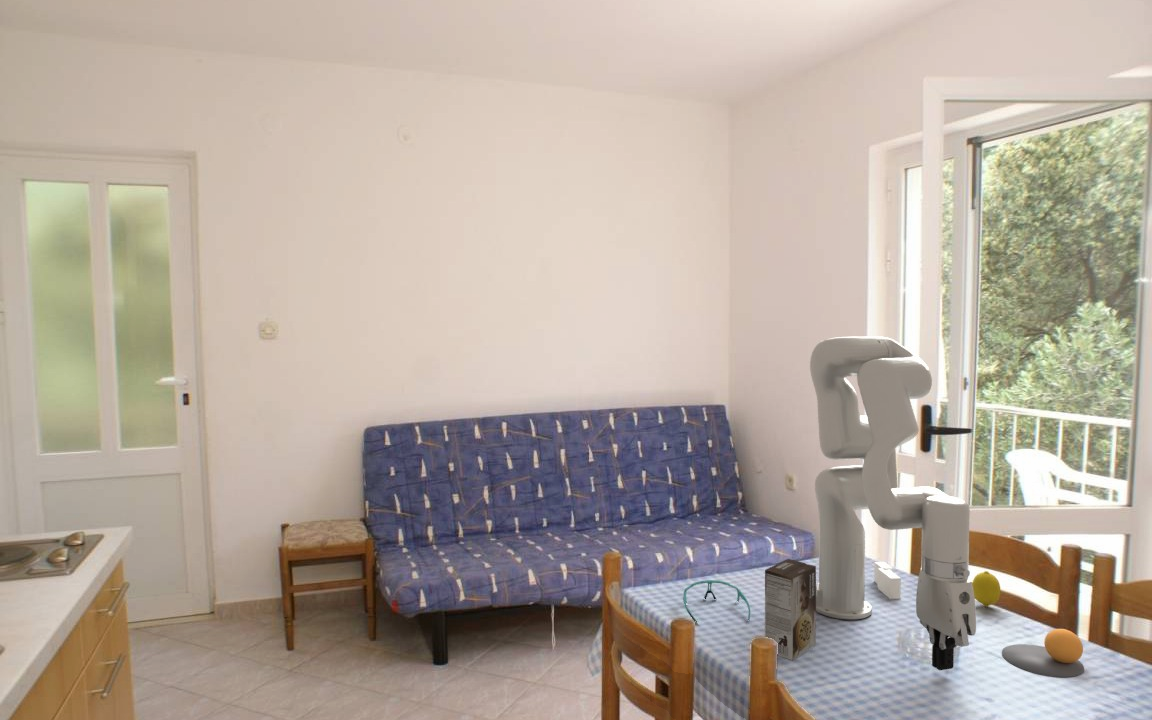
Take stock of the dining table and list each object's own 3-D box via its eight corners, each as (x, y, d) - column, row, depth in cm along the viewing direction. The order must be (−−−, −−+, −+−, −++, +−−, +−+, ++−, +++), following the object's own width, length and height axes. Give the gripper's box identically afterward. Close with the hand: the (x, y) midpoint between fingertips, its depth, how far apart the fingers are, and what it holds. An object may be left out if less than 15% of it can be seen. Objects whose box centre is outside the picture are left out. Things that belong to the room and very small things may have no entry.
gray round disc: (1008, 670, 135) (1009, 669, 135) (996, 641, 147) (996, 640, 147) (1093, 682, 130) (1093, 681, 130) (1073, 651, 142) (1073, 650, 142)
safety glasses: (739, 599, 171) (739, 579, 170) (756, 633, 156) (757, 611, 155) (678, 600, 170) (678, 580, 170) (690, 634, 156) (690, 612, 155)
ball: (1083, 625, 138) (1090, 656, 138) (1046, 621, 142) (1053, 651, 142) (1074, 640, 134) (1081, 672, 134) (1037, 635, 138) (1043, 666, 138)
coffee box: (787, 636, 150) (787, 557, 149) (817, 646, 145) (817, 565, 145) (763, 650, 144) (763, 568, 143) (793, 661, 139) (793, 576, 138)
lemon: (1003, 612, 161) (1004, 576, 161) (976, 610, 162) (977, 574, 162) (995, 603, 167) (995, 567, 166) (968, 601, 168) (968, 566, 167)
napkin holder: (906, 606, 166) (906, 581, 166) (854, 595, 173) (854, 571, 173) (921, 587, 178) (922, 563, 178) (872, 577, 185) (873, 555, 185)
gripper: (995, 578, 126) (993, 684, 127) (932, 552, 140) (930, 647, 141) (958, 583, 124) (956, 690, 125) (898, 555, 138) (896, 652, 139)
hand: (942, 667), depth 133 cm, fingers closed
